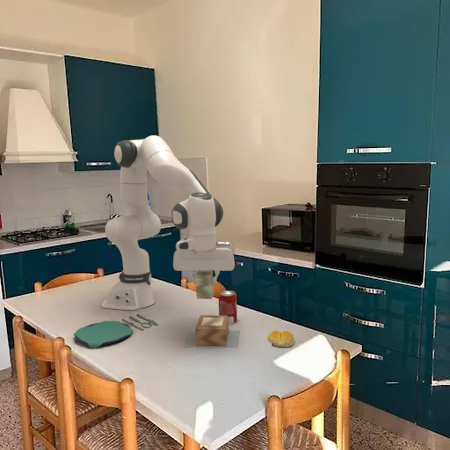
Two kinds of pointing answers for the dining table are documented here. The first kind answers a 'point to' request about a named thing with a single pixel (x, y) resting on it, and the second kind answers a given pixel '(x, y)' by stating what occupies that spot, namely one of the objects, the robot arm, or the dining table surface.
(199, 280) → the sage block
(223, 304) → the soda can
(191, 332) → the grey flat slab
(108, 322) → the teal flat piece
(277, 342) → the bread roll
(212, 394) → the dining table surface
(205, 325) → the wooden cube box
